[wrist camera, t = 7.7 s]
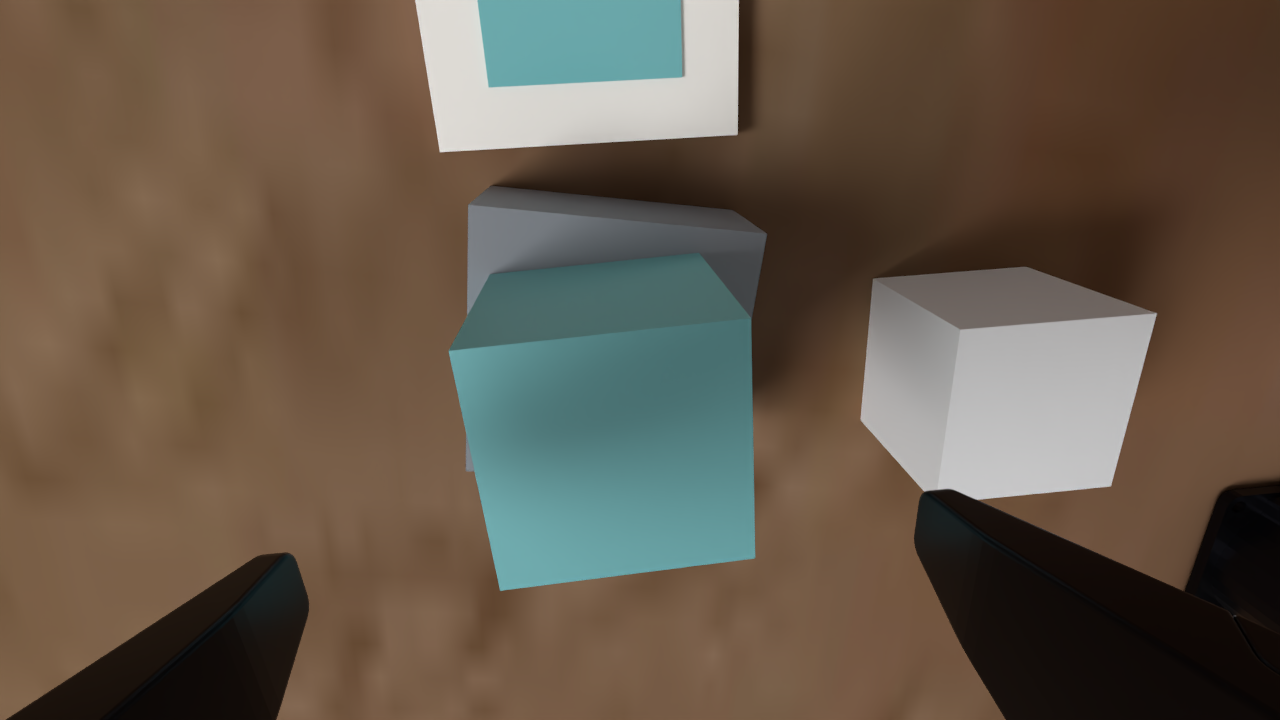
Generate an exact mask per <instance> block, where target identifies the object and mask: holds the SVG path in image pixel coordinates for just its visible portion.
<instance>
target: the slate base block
mask: <svg viewBox="0 0 1280 720" xmlns="http://www.w3.org/2000/svg"><path fill="white" fill-rule="evenodd" d="M766 238H767V233H765V232H764V231H762V230H761V229H760V228H758V227H757V226H755V225H754V224H752V223H751V222H749V221H748V220H747V219H745V218H744V217H742V216H741V215H739V214H738V213H736V212H735V211H733V210H728V209H718V208H708V207H698V206H688V205H678V204H668V203H658V202H648V201H638V200H628V199H619V198H609V197H599V196H589V195H579V194H569V193H559V192H549V191H539V190H529V189H519V188H509V187H499V186H490V187H489V188H488V189H486V190H485V191H484V192H483V193H482V194H480V195H479V196H478V197H477V198H476V199H475V200H473V201H472V202H471V203H470V204H469V205H468V294H467V316H468V314H469V312H470V310H471V308H472V307H473V305H474V303H475V301H476V299H477V297H478V295H479V294H480V292H481V290H482V288H483V286H484V284H485V282H486V281H487V279H488V277H489V275H490V274H497V273H507V272H517V271H526V270H536V269H546V268H556V267H565V266H575V265H585V264H595V263H604V262H614V261H624V260H634V259H643V258H653V257H663V256H672V255H682V254H692V253H700V255H701V256H702V257H703V258H704V260H705V261H706V262H707V263H708V265H709V266H710V267H711V268H712V270H713V271H714V272H715V273H716V275H717V276H718V277H719V278H720V280H721V281H722V282H723V283H724V285H725V286H726V287H727V288H728V290H729V291H730V292H731V293H732V295H733V296H734V297H735V298H736V300H737V301H738V302H739V303H740V305H741V306H742V307H743V309H744V310H745V311H746V312H747V314H748V315H749V316H750V317H751V320H752V314H753V309H754V304H755V298H756V293H757V287H758V282H759V276H760V271H761V265H762V260H763V254H764V249H765V243H766ZM466 471H474V466H473V462H472V457H471V452H470V448H469V443H468V438H467V434H466Z"/></svg>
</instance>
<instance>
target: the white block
mask: <svg viewBox="0 0 1280 720" xmlns="http://www.w3.org/2000/svg"><path fill="white" fill-rule="evenodd" d="M1156 315H1157V313H1155V312H1152V311H1149V310H1146V309H1143V308H1141V307H1138V306H1135V305H1132V304H1129V303H1127V302H1124V301H1121V300H1118V299H1115V298H1113V297H1110V296H1107V295H1104V294H1101V293H1099V292H1096V291H1093V290H1090V289H1087V288H1085V287H1082V286H1079V285H1076V284H1073V283H1071V282H1068V281H1065V280H1062V279H1059V278H1057V277H1054V276H1051V275H1048V274H1045V273H1043V272H1040V271H1037V270H1034V269H1031V268H1029V267H1015V268H1002V269H989V270H976V271H963V272H950V273H937V274H924V275H911V276H898V277H886V278H873V284H872V296H871V307H870V318H869V330H868V341H867V353H866V364H865V376H864V387H863V399H862V410H861V421H862V422H863V423H864V425H865V426H866V427H867V428H868V429H869V430H870V431H871V432H872V433H873V435H874V436H875V437H876V438H877V439H878V440H879V441H880V442H881V444H882V445H883V446H884V447H885V448H886V449H887V450H888V451H889V453H890V454H891V455H892V456H893V457H894V458H895V459H896V460H897V461H898V463H899V464H900V465H901V466H902V467H903V468H904V469H905V470H906V472H907V473H908V474H909V475H910V476H911V477H912V478H913V479H914V481H915V482H916V483H917V484H918V485H919V486H920V487H921V488H922V490H923V491H924V492H925V491H929V490H939V489H953V490H956V491H958V492H960V493H962V494H965V495H967V496H969V497H971V498H974V499H976V500H978V499H988V498H998V497H1008V496H1018V495H1028V494H1038V493H1048V492H1058V491H1068V490H1078V489H1088V488H1099V487H1109V486H1111V484H1112V480H1113V476H1114V473H1115V469H1116V465H1117V461H1118V458H1119V454H1120V450H1121V446H1122V443H1123V439H1124V435H1125V431H1126V428H1127V424H1128V420H1129V416H1130V413H1131V409H1132V405H1133V401H1134V398H1135V394H1136V390H1137V386H1138V383H1139V379H1140V375H1141V371H1142V368H1143V364H1144V360H1145V356H1146V353H1147V349H1148V345H1149V341H1150V338H1151V334H1152V330H1153V326H1154V323H1155V319H1156Z"/></svg>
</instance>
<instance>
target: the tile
mask: <svg viewBox="0 0 1280 720" xmlns="http://www.w3.org/2000/svg"><path fill="white" fill-rule="evenodd" d="M415 1H416V7H417V13H418V20H419V26H420V32H421V38H422V44H423V50H424V57H425V63H426V69H427V75H428V81H429V87H430V94H431V100H432V106H433V112H434V118H435V124H436V130H437V137H438V143H439V149H440V152H451V151H468V150H485V149H502V148H520V147H537V146H554V145H571V144H589V143H606V142H623V141H641V140H658V139H675V138H692V137H710V136H727V135H738V40H739V0H415Z"/></svg>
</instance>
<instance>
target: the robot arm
mask: <svg viewBox="0 0 1280 720" xmlns="http://www.w3.org/2000/svg"><path fill="white" fill-rule="evenodd" d="M914 543H915V548H916V551H917V554H918V556H919V558H920V561H921V563H922V565H923V567H924V569H925V571H926V573H927V575H928V577H929V579H930V582H931V584H932V586H933V588H934V590H935V592H936V594H937V596H938V598H939V600H940V603H941V605H942V607H943V609H944V611H945V613H946V615H947V617H948V619H949V621H950V624H951V626H952V628H953V630H954V632H955V634H956V636H957V638H958V640H959V642H960V644H961V646H962V648H963V649H964V651H965V653H966V654H967V656H968V658H969V660H970V661H971V663H972V665H973V666H974V668H975V670H976V671H977V673H978V675H979V676H980V678H981V680H982V681H983V683H984V684H985V686H986V688H987V689H988V691H989V693H990V694H991V696H992V698H993V699H994V701H995V703H996V704H997V706H998V708H999V709H1000V711H1001V712H1002V714H1003V716H1004V717H1005V719H1006V720H1280V485H1279V486H1268V487H1258V488H1248V489H1237V490H1231V491H1227V492H1226V493H1224V494H1223V495H1221V496H1220V497H1219V499H1218V501H1217V503H1216V505H1215V508H1214V511H1213V514H1212V517H1211V520H1210V522H1209V525H1208V528H1207V531H1206V534H1205V537H1204V539H1203V542H1202V545H1201V548H1200V551H1199V553H1198V556H1197V559H1196V562H1195V565H1194V568H1193V570H1192V573H1191V576H1190V579H1189V582H1188V585H1187V587H1186V590H1185V592H1184V591H1182V590H1180V589H1177V588H1175V587H1173V586H1171V585H1168V584H1166V583H1164V582H1162V581H1159V580H1157V579H1155V578H1152V577H1150V576H1148V575H1146V574H1143V573H1141V572H1139V571H1137V570H1134V569H1132V568H1130V567H1128V566H1125V565H1123V564H1121V563H1119V562H1116V561H1114V560H1112V559H1109V558H1107V557H1105V556H1103V555H1100V554H1098V553H1096V552H1094V551H1091V550H1089V549H1087V548H1085V547H1082V546H1080V545H1078V544H1076V543H1073V542H1071V541H1069V540H1066V539H1064V538H1062V537H1060V536H1057V535H1055V534H1053V533H1051V532H1048V531H1046V530H1044V529H1042V528H1039V527H1037V526H1035V525H1033V524H1030V523H1028V522H1026V521H1023V520H1021V519H1019V518H1017V517H1014V516H1012V515H1010V514H1008V513H1005V512H1003V511H1001V510H999V509H996V508H994V507H992V506H990V505H987V504H985V503H983V502H981V501H978V500H976V499H974V498H971V497H969V496H967V495H965V494H962V493H960V492H958V491H956V490H953V489H939V490H929V491H925V492H924V493H923V494H922V495H921V497H920V500H919V505H918V512H917V519H916V527H915V534H914ZM308 612H309V600H308V595H307V592H306V589H305V586H304V583H303V580H302V577H301V574H300V571H299V568H298V564H297V562H296V559H295V558H294V556H293V555H291V554H289V553H275V554H265V555H260V556H257V557H255V558H254V559H252V560H251V561H249V562H247V563H246V564H244V565H243V566H241V567H240V568H238V569H237V570H235V571H234V572H232V573H231V574H229V575H227V576H226V577H224V578H223V579H221V580H220V581H218V582H217V583H215V584H214V585H212V586H211V587H209V588H207V589H206V590H204V591H203V592H201V593H200V594H198V595H197V596H195V597H194V598H192V599H191V600H189V601H188V602H186V603H184V604H183V605H181V606H180V607H178V608H177V609H175V610H174V611H172V612H171V613H169V614H168V615H166V616H164V617H163V618H161V619H160V620H158V621H157V622H155V623H154V624H152V625H151V626H149V627H148V628H146V629H145V630H143V631H141V632H140V633H138V634H137V635H135V636H134V637H132V638H131V639H129V640H128V641H126V642H125V643H123V644H121V645H120V646H118V647H117V648H115V649H114V650H112V651H111V652H109V653H108V654H106V655H105V656H103V657H101V658H100V659H98V660H97V661H95V662H94V663H92V664H91V665H89V666H88V667H86V668H85V669H83V670H82V671H80V672H78V673H77V674H75V675H74V676H72V677H71V678H69V679H68V680H66V681H65V682H63V683H62V684H60V685H58V686H57V687H55V688H54V689H52V690H51V691H49V692H48V693H46V694H45V695H43V696H42V697H40V698H39V699H37V700H35V701H34V702H32V703H31V704H29V705H28V706H26V707H25V708H23V709H22V710H20V711H19V712H17V713H15V714H14V715H12V716H11V717H9V718H8V719H6V720H276V719H277V716H278V713H279V710H280V707H281V704H282V700H283V697H284V694H285V690H286V687H287V684H288V680H289V677H290V674H291V670H292V667H293V664H294V660H295V657H296V654H297V650H298V647H299V644H300V640H301V637H302V634H303V631H304V627H305V624H306V621H307V617H308Z"/></svg>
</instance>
